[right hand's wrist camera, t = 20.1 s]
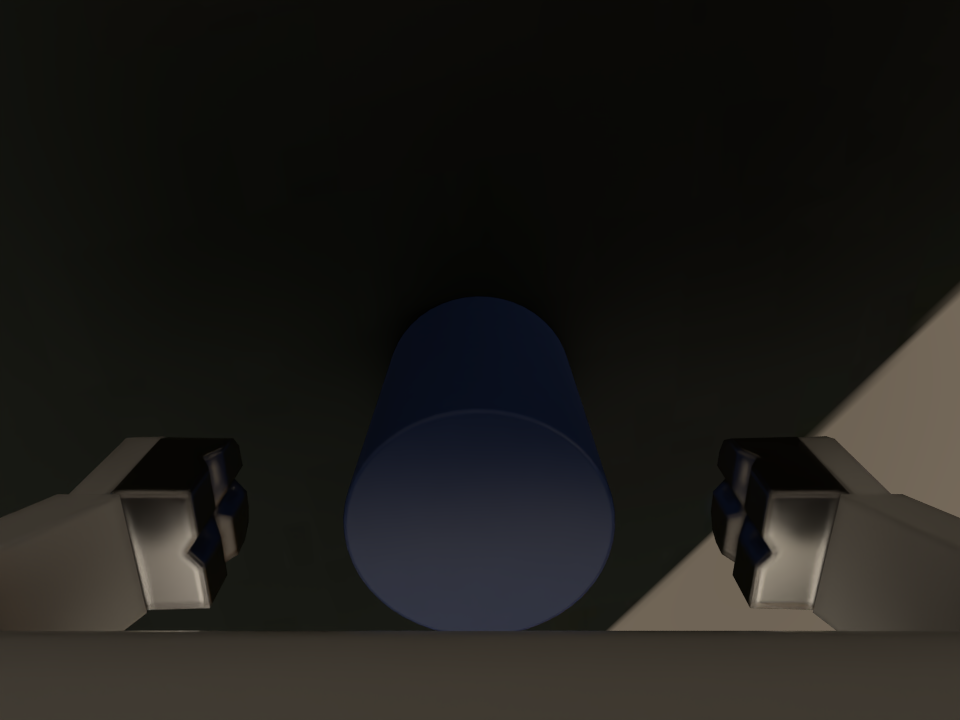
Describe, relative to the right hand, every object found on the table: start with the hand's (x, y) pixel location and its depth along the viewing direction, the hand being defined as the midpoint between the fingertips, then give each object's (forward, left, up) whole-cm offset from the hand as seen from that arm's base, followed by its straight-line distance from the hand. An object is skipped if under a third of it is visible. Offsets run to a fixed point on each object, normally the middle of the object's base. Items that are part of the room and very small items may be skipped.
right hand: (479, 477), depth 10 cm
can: (0, 0, -4) cm, 4 cm away
